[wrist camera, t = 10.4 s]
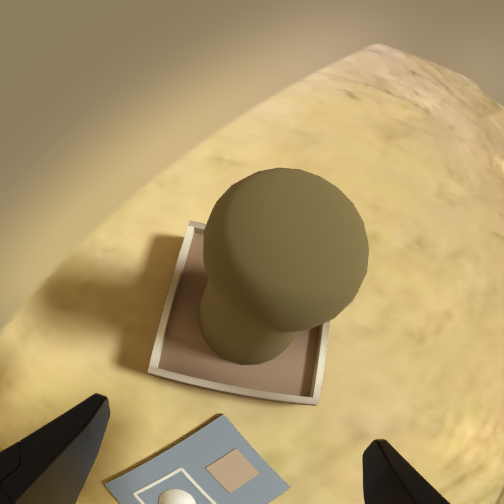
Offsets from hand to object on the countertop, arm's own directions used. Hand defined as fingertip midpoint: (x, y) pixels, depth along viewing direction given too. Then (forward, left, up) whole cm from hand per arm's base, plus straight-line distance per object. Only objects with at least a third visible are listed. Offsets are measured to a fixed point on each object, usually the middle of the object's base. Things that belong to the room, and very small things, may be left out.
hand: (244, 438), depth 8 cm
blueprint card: (-4, -5, -10) cm, 12 cm away
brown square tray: (+3, +5, -10) cm, 12 cm away
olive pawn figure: (+3, +5, -8) cm, 10 cm away
